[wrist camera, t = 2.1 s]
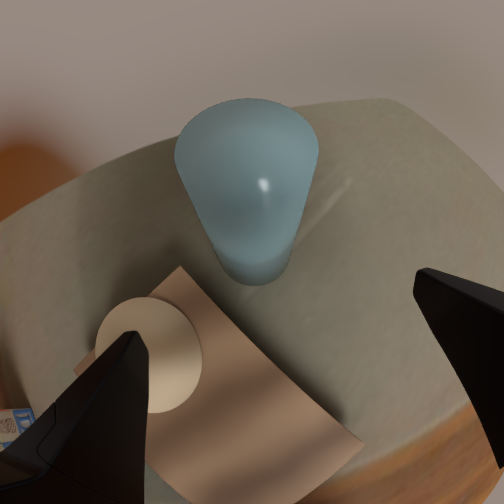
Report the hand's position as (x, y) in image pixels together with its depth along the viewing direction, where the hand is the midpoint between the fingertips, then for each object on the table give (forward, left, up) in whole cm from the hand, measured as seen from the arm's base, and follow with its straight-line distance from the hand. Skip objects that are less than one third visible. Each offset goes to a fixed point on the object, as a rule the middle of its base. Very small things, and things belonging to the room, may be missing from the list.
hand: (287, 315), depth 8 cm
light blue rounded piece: (+6, -4, -13) cm, 14 cm away
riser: (-1, +7, -12) cm, 15 cm away
